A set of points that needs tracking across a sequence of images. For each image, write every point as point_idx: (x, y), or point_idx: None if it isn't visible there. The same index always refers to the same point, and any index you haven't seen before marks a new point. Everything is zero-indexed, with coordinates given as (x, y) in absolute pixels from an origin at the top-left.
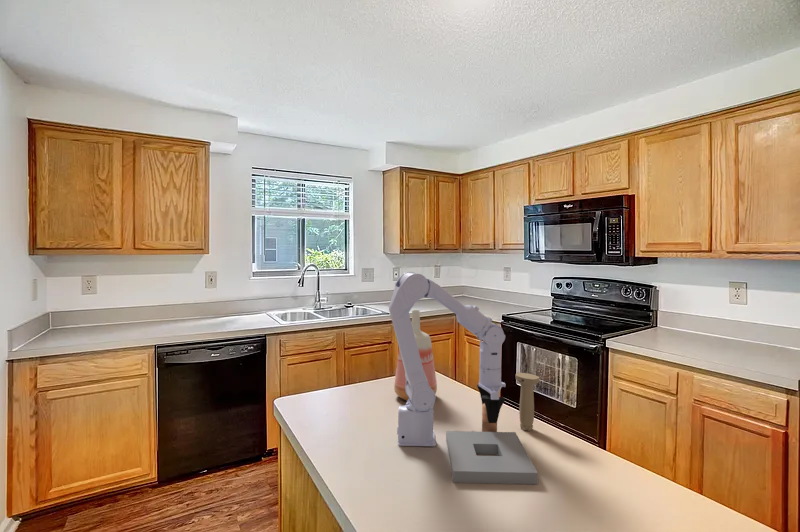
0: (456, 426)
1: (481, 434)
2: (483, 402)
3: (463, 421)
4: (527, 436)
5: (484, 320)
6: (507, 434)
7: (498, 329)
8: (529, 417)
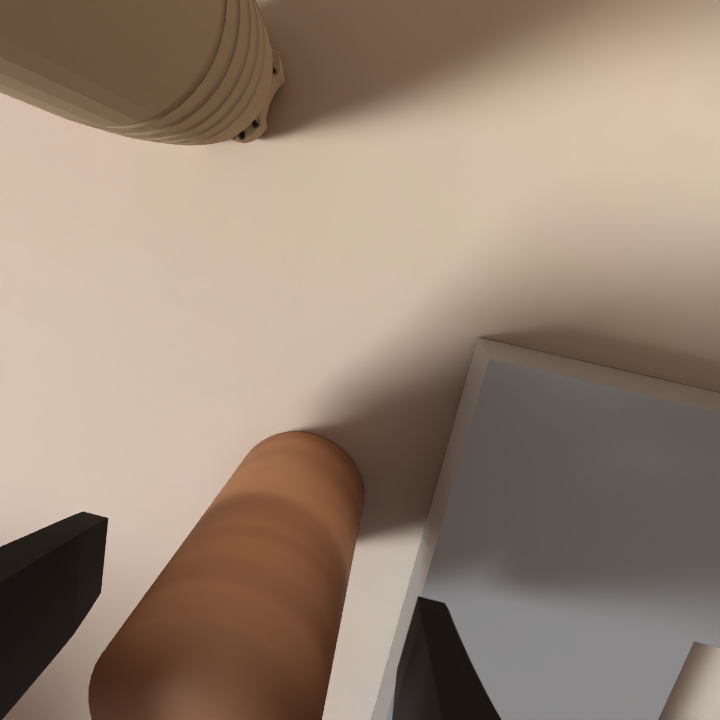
0: None
1: None
2: (16, 688)
3: None
4: (393, 161)
5: None
6: (522, 465)
7: None
8: (256, 39)
